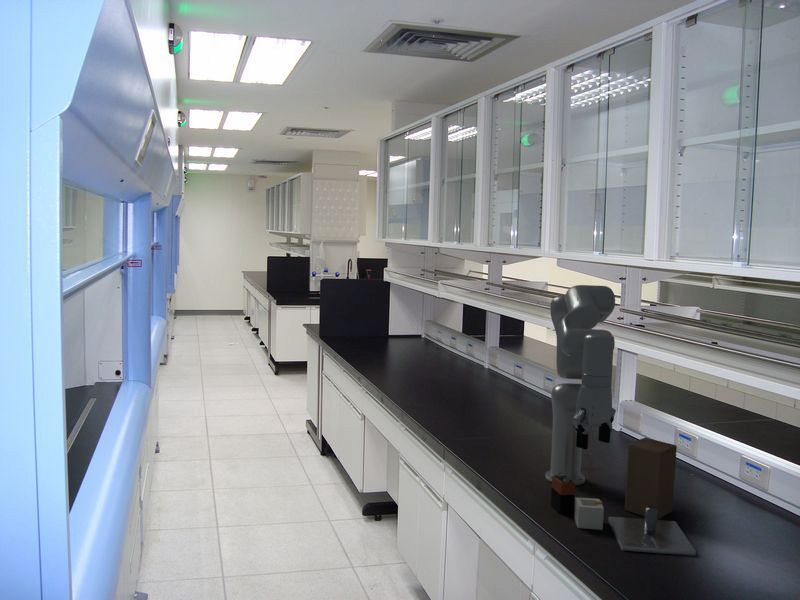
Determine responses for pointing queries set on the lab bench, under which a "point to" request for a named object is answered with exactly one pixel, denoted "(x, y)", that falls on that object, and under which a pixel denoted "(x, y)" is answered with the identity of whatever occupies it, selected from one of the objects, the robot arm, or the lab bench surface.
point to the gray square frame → (589, 513)
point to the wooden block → (650, 476)
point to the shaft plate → (645, 542)
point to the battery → (562, 493)
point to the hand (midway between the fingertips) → (593, 444)
